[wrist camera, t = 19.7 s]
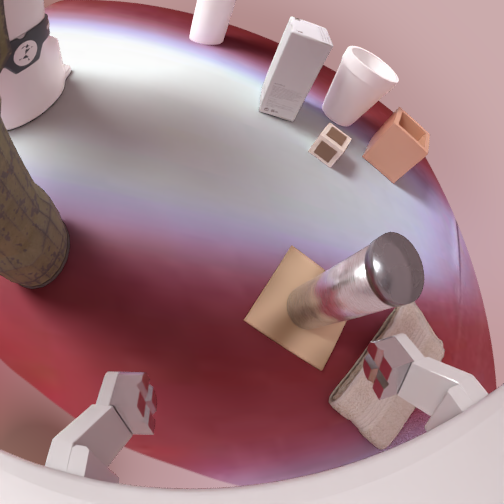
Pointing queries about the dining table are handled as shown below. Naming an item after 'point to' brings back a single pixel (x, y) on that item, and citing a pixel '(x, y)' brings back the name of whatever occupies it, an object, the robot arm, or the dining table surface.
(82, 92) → the dining table surface
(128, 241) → the dining table surface
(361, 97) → the foam cup
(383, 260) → the tin canister
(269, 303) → the cork coaster
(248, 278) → the dining table surface
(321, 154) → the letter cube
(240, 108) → the dining table surface
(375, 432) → the washcloth
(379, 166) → the terracotta planter
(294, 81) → the skincare box
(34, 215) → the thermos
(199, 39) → the cylindrical container
